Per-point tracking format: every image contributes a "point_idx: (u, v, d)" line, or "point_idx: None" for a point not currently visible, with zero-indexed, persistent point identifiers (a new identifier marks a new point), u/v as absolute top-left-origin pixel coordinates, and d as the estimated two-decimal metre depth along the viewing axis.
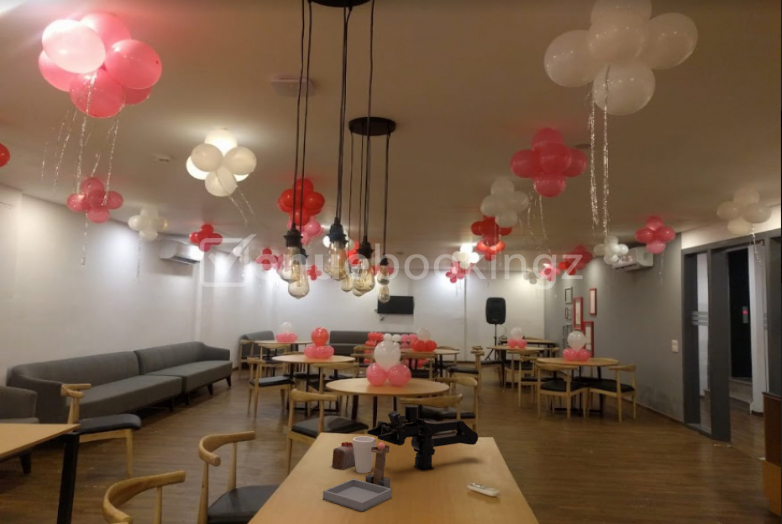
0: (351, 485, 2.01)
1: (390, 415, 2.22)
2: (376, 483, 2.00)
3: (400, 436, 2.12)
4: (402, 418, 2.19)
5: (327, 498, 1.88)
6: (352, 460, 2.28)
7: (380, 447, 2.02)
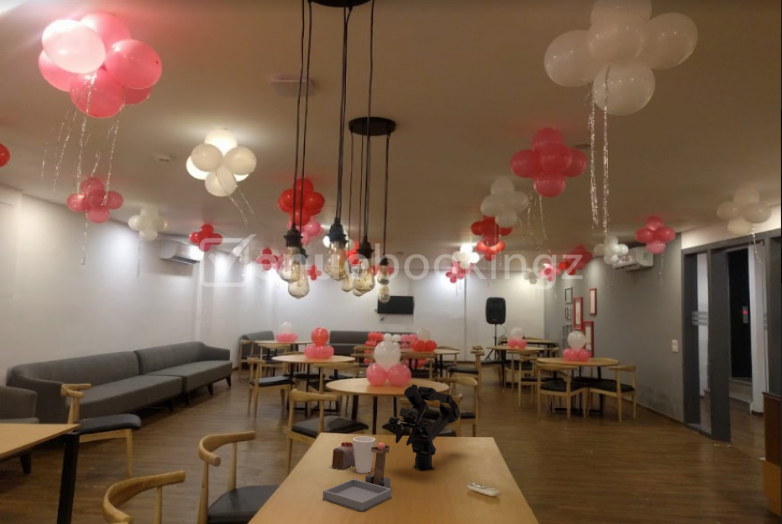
0: (351, 485, 2.01)
1: (402, 415, 2.17)
2: (376, 483, 2.00)
3: (427, 430, 2.14)
4: (415, 412, 2.16)
5: (327, 498, 1.88)
6: (352, 460, 2.28)
7: (380, 447, 2.02)
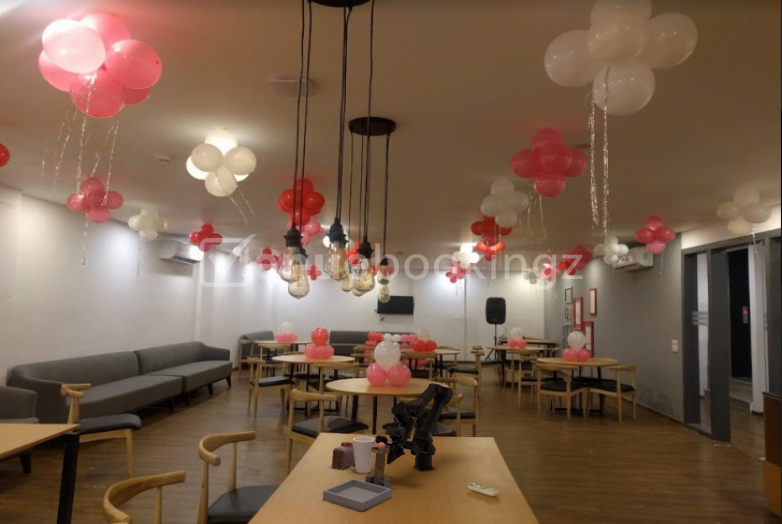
0: (351, 485, 2.01)
1: (388, 433, 2.09)
2: (376, 483, 2.00)
3: (415, 449, 2.06)
4: (403, 430, 2.08)
5: (327, 498, 1.88)
6: (352, 460, 2.28)
7: (380, 447, 2.02)
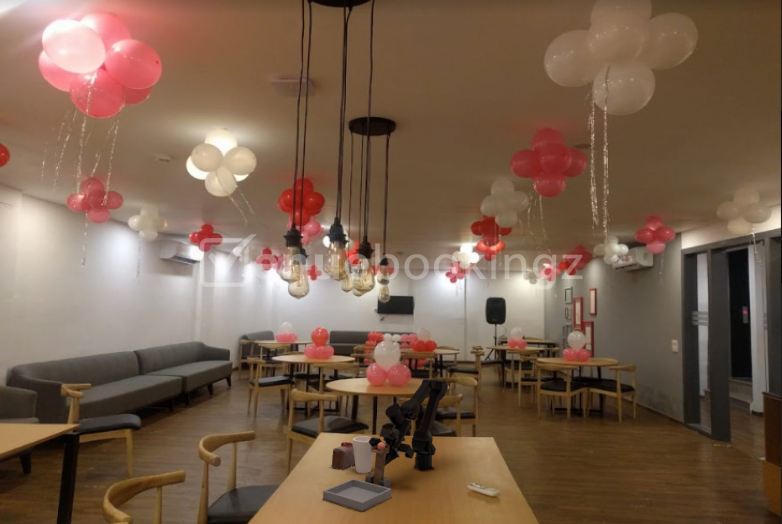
0: (351, 485, 2.01)
1: (382, 436, 2.06)
2: (376, 483, 2.00)
3: (409, 452, 2.03)
4: (397, 432, 2.05)
5: (327, 498, 1.88)
6: (352, 460, 2.28)
7: (380, 447, 2.02)
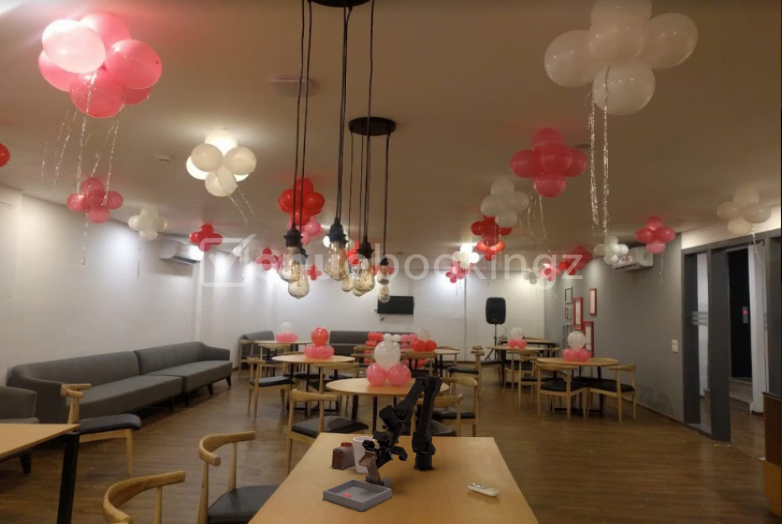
0: (351, 485, 2.01)
1: (376, 438, 2.02)
2: None
3: (403, 455, 1.99)
4: (390, 435, 2.01)
5: (327, 498, 1.88)
6: (352, 460, 2.28)
7: (349, 494, 1.87)
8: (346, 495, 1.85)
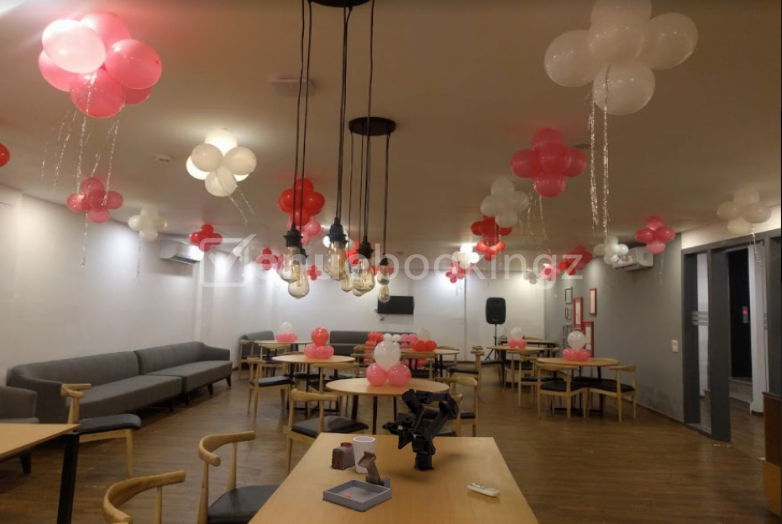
0: (351, 485, 2.01)
1: (399, 420, 2.15)
2: None
3: (425, 435, 2.12)
4: (413, 416, 2.14)
5: (327, 498, 1.88)
6: (351, 460, 2.28)
7: (349, 494, 1.87)
8: (346, 495, 1.85)
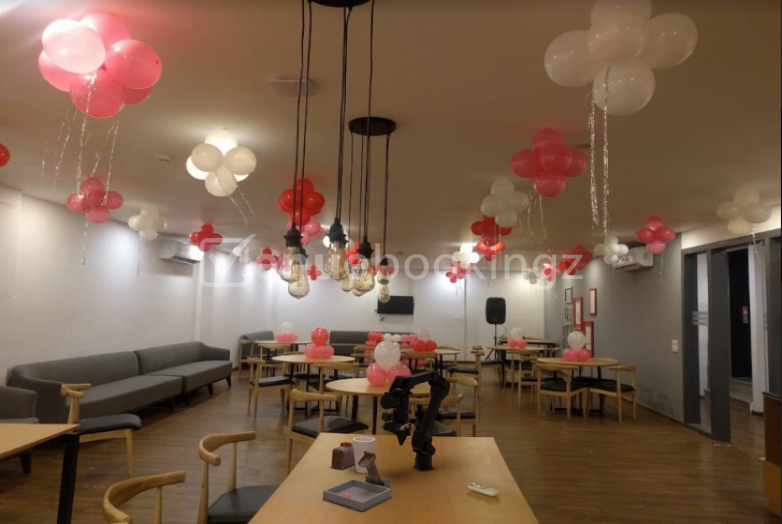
0: (351, 485, 2.01)
1: (389, 420, 2.24)
2: None
3: (387, 429, 2.12)
4: (383, 415, 2.19)
5: (327, 498, 1.88)
6: (351, 460, 2.28)
7: (349, 494, 1.87)
8: (346, 495, 1.85)
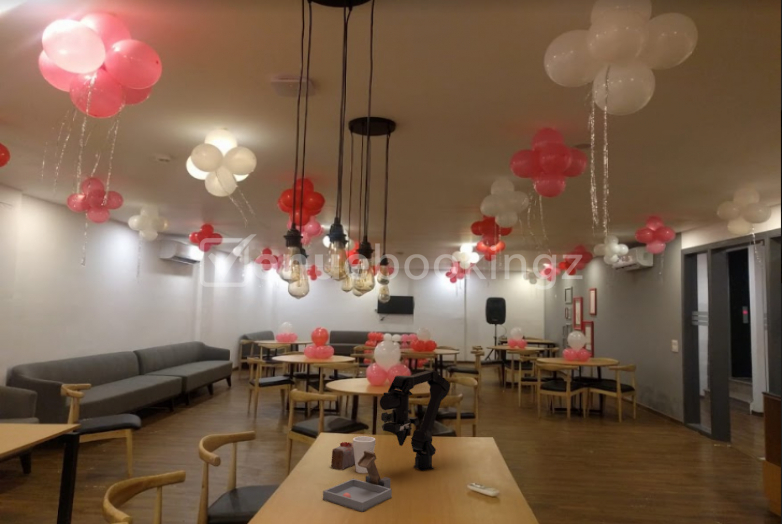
0: (351, 485, 2.01)
1: (389, 420, 2.24)
2: None
3: (387, 430, 2.12)
4: (383, 416, 2.19)
5: (327, 498, 1.88)
6: (351, 460, 2.28)
7: (349, 494, 1.87)
8: (346, 495, 1.85)
